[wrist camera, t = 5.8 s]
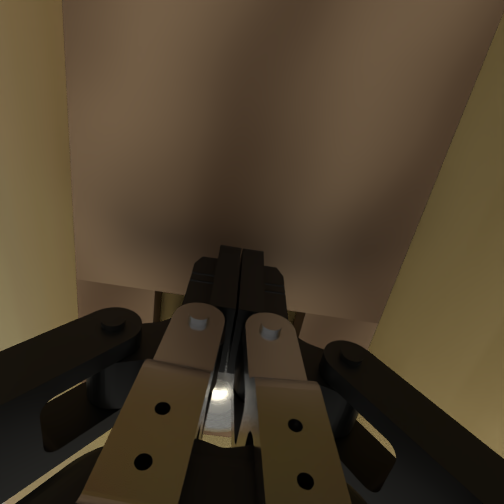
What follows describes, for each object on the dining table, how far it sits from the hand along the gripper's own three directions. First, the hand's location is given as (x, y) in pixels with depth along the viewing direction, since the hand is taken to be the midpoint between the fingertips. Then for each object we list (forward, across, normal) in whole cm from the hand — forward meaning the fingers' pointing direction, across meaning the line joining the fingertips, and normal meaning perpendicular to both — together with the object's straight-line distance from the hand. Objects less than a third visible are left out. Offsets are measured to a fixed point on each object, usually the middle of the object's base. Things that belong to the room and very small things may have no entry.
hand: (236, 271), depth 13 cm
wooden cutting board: (+2, 0, 0) cm, 2 cm away
